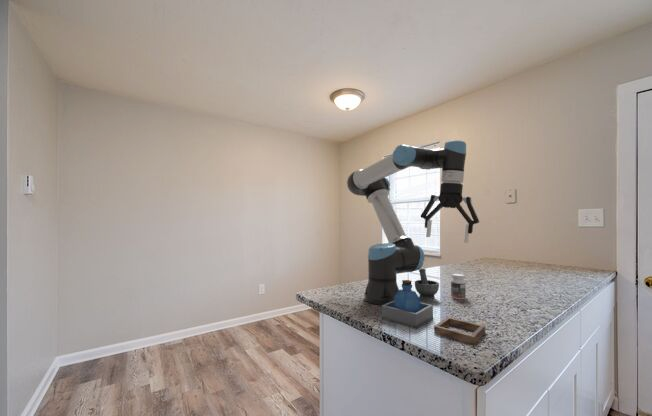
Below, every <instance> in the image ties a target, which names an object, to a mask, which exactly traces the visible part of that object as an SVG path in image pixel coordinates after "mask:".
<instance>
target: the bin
mask: <svg viewBox="0 0 652 416" xmlns="http://www.w3.org/2000/svg"><path fill="white" fill-rule="evenodd" d="M381 319H382V320H383V321H384V320H385V321H387V322H391V323H395V324H397V325H401V326H405V327H408V328H411V327H412V329H414V330H415V329H416V330H417V329H419V328H420V327H422V326H423V325H425V324H427V323H428V322H430V321H432V320H433V319H434V305H433V304H429V303H424V302H420V311H418V312H416V313H413V312H409V311H405V310H401V309H397V308H394V301H391V302H389V303H387V304H384V305H381Z"/></svg>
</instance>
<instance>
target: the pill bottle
mask: <svg viewBox="0 0 652 416" xmlns="http://www.w3.org/2000/svg"><path fill="white" fill-rule="evenodd" d="M451 277H452V279H451V280H450V287H451V288H450V293H451V295H450V297H451V298H453V299H456V300H465V299H466V295H467V293H466V290H467V289H466V286H467V285H466V281H465V280H464V279H465V275H464V274H461V273H452V275H451Z"/></svg>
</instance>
